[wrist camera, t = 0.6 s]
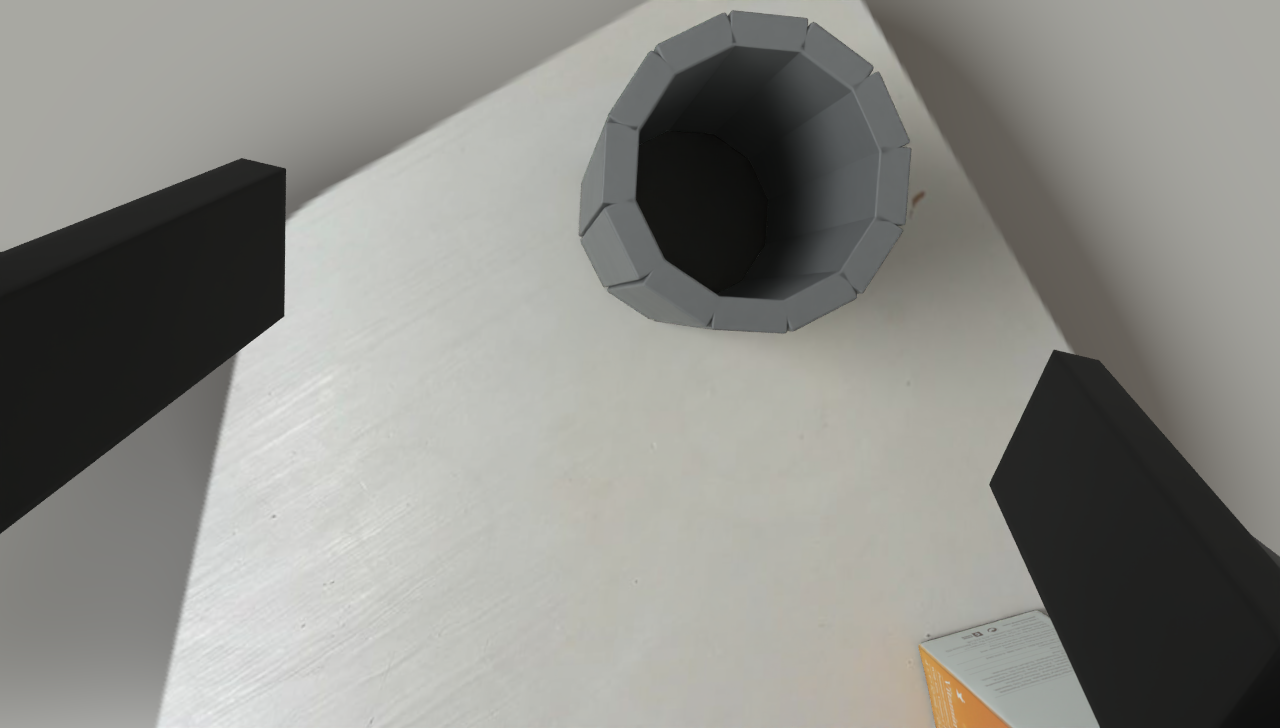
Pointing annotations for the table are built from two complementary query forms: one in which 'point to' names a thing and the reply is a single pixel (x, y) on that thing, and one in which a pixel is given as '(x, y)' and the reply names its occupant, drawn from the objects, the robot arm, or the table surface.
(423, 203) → the table surface
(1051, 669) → the small box
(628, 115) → the slatted grey tube
